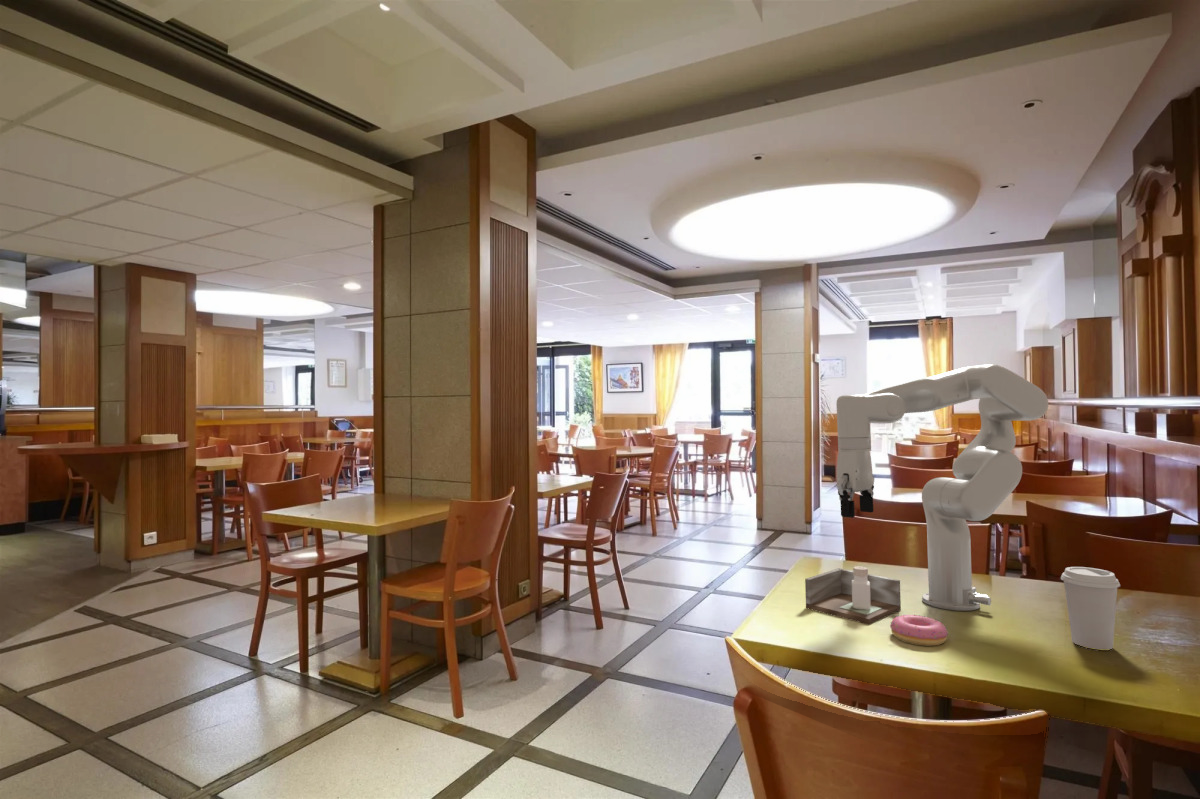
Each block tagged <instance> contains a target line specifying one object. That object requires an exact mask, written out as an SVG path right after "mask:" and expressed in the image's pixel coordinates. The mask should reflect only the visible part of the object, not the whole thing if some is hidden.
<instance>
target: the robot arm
mask: <svg viewBox="0 0 1200 799" xmlns="http://www.w3.org/2000/svg"><path fill="white" fill-rule="evenodd" d="M973 400H978V412H979V416H980V424H981V425H980V430H979V432H978V433H977V435H976V436H975V437H974V438H973V439H972V440H971V441H970V442H969V444H968V445H967V446H966V447H965V448H964V449H963V450H962V452H961V453H959V455H958V456H957V457H956V459H954V462H953V464H952V468H951V469H952V474H953V475H954V478H953V477H943V476H942V477H935V478H932V479H930V480H929V481H927V482H926V483H925V484H924V486H923V489H922V491H921V501H922V507H923V511H924V516H925V521H926V533H927V534H926V535H927V536H926V537H927V540H926V542H927V543H926V544H927V572H928V573H927V575H928V576H927V577H928V592H926V593H923V594H922V595H921V599H922V602H923V603H924V604H927V605H928V606H932V607H935V608H939V609H943V610H951V611H960V612H963V611H964V612H967V611H976V610H978V609H980V608H981V605H985V606H991V604H992V598H991V597H990V596H989V595H987V594H984V593H983V594H982V593H981V594H980V593H979V592H977V587H975V586H973V585H972V584H973V582H972V579H973V578H972V554H971V553H972V548H971V543H972V542H971V531H970V528H969V525H968V522H967V521H971V522H981V521H983V520H986V519H988V518H989V517H991V516H992V515H993V514H994V513H995V512H996V510H998V509H999V507H1001V505H1002V504H1003V503H1004V502H1005V500H1006V499H1007V498H1008V497H1009V496H1010V495H1011V494H1012V493H1013V491H1015V489H1016V487H1017V486H1018V485H1019V483H1020V481H1021V479H1022V476H1023V465H1022V462H1021V460H1020V458H1019V457H1018V456H1017V455H1015V454H1014V453H1013V451H1014V449H1015V447H1016V444H1017V443H1016V442H1017V439H1016V434H1015V430H1014V426H1013V422H1012V421H1018V422H1019V421H1022V422H1023V421H1027V422H1028V421H1030V422H1031V421H1035V420H1036V421H1037V420H1038V419H1040V418H1042V417H1044V416H1045V414H1046V413H1047V411H1048V409H1049V399H1048V396H1047V394H1046V393H1045V392H1044V390H1042V389H1041V388H1040V387H1039V386H1037V385H1035V384H1034V383H1033V382H1031V381H1029V380H1027V379H1026V378H1024V377H1023V376H1020V375H1019V374H1017V373H1016V372H1013V371H1011V370H1010V369H1008V368H1006V367H1004V366H1001V365H998V364H995V363H994V364H992V363H991V364H990V363H989V364H980V365H971V366H965V367H961V368H958V369H953V370H950V371H946V372H941V373H939V374H936V375H932V376H931V375H930V376H927V377H924V378H921V379H916V380H912V381H908V382H905V383H902V384H897V385H893V386H890V387H885V388H882V389H877V390H874V391H871V392H867V393H864V394H847V395H846V394H844V395H840V396H838V397H837V399H836V403H835V404H836V423H837V444H838V445H837V447H838V448H837V450H838V451H837V461H836V489H837V493H838V494H837V495H838V496H839V497H838V499H839V500H840V501H839V502H840V516H841V517H844V518H851V519H853V518H855V516H856V512H855V511H856V509H855V500H854V496H855V493H860V495H859V498H858V499H859V511H860V512H861V513H863V512H864V513H874V489H875V485H874V483H875V477H874V475H873V474H874V473H873V464H872V457H871V451H872V434H871V432H872V431H871V424H893V423H896V422H898V421H899V420H901V419H902V418H903V416H904V415H905V414H913V413H916V414H917V413H926V412H927V413H928V412H931V411H933V412H934V411H939V410H941V409H944V408H947V407H950V406H954V405H957V404H962V403H965V402H968V401H973Z"/></svg>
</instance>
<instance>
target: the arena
mask: <svg viewBox="0 0 1200 799" xmlns="http://www.w3.org/2000/svg"><path fill="white" fill-rule="evenodd" d="M852 580H854V575H853V570H849V569H844V568H836V569H832V570H829V571H826V572H822V573H820V574H816V575H814V576H810V577H807V578H805V582H804V584H805V587H804V588H805V590H804V591H805V609H808V608H809V609H808V610H811V609H813V610H812V611H815V610H817V611H816V612H819V611H820V613H823V612H824V614H827V613H828V615H831V614H832V615H831V616H834V615H835V617H838V618H841V619H842V618H843V619H845V620H850V621H854V622H858V623H861V624H865V625H870V624H872V623H873V624H874V623H875V622H877V621H879V620H882V619H884V618H886V617H888V616H891V615H892V614H895V613H897V612H899V611H901V609H902V608H901V604H902V603H901V601H902V600H901V580H900V579H895V578H890V577H886V576H882V575H881V576H880V575H876V574H870V573H868V577H867V580H868V581H869V582H870V603H871V608H870V609H869V610H863V609H855V608H853V606H852Z"/></svg>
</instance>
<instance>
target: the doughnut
mask: <svg viewBox="0 0 1200 799" xmlns="http://www.w3.org/2000/svg"><path fill="white" fill-rule="evenodd" d="M889 627H890V629H891V630H890V631H891V633H892V634H893V636H894V637H895V638H896V639H898V640H900V641H901V642H904V643H908V644H911V645H915V646H923V647H937V646H940V645H942V644H944V643H945V642H946V641H947V639H948V635H949V634H948V630H947V627H946V626H945V625H944V623H942V622H940V621H939V620H937V619H934V618H932V617H928V616H925V615H918V614H916V615H915V614H903V615H902V614H901V615H897V616H895V617H894V618H892V620H891V622H890V626H889Z"/></svg>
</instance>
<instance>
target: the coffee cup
mask: <svg viewBox="0 0 1200 799" xmlns="http://www.w3.org/2000/svg"><path fill="white" fill-rule="evenodd" d="M1060 580H1061V581H1063V584H1064V585H1063V586H1064V592H1065V593H1064V594H1065V599H1066V605H1067V614H1068V620H1069V621H1068V622H1069V627H1070V632H1071V633H1070V634H1071V642H1072V643H1073V642H1074V643H1075V644H1078V645H1080V646H1084V647H1088V648H1095V649H1112V648H1113V649H1114V639H1115V623H1116V622H1115V621H1116V611H1117V610H1116V608H1117V598H1118V596H1117V594H1118V593H1117V592H1118V588H1121V584H1120V582H1119V579H1118V578H1116V575H1115V573H1114V572H1112V571H1109V570H1106V569H1105V570H1104V569H1100V568H1094V567H1085V566H1070V567H1069V566H1068V567H1065V569H1064V572H1062V573H1061V576H1060ZM1074 643H1073V644H1074ZM1075 644H1074V645H1075ZM1080 646H1079V647H1080ZM1113 649H1112V650H1113Z"/></svg>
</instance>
